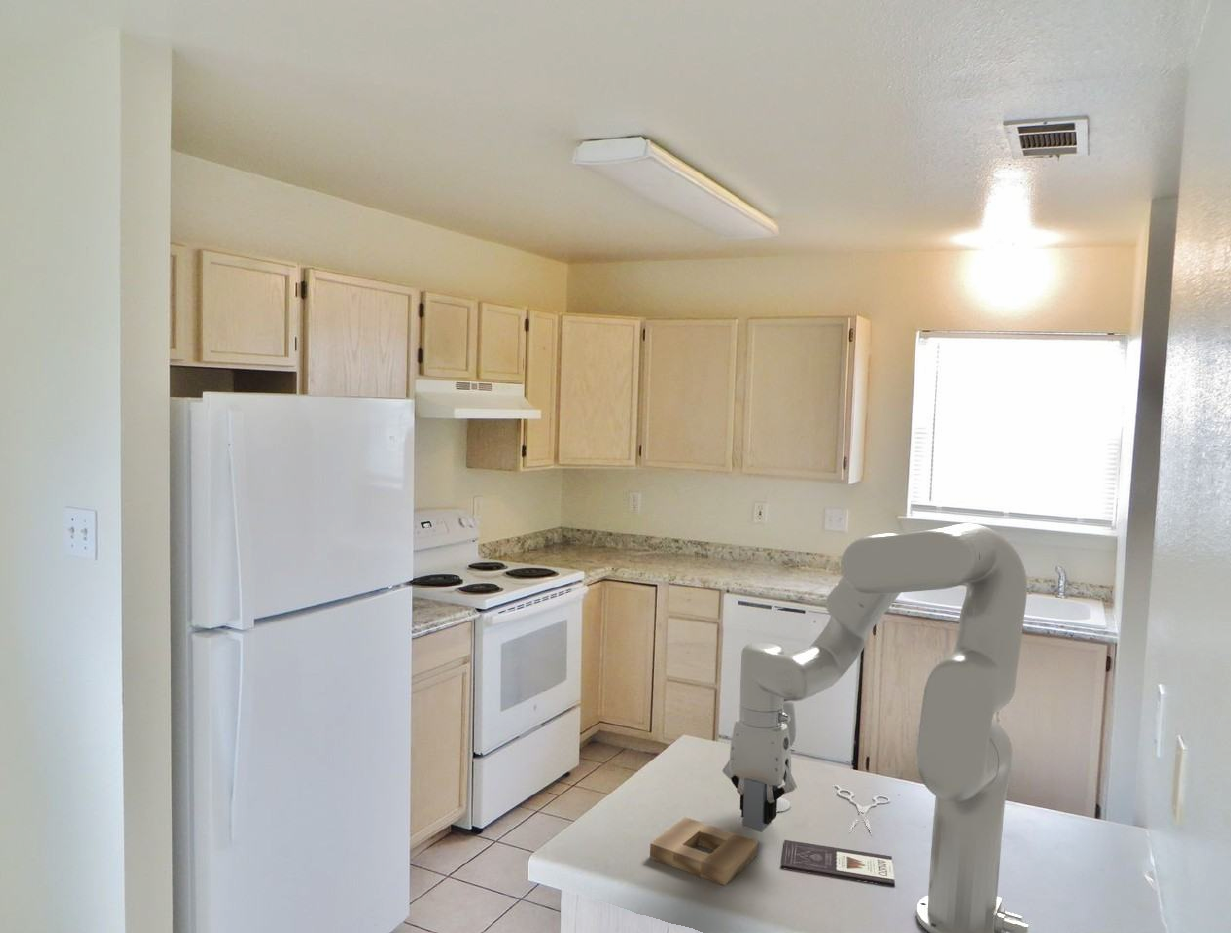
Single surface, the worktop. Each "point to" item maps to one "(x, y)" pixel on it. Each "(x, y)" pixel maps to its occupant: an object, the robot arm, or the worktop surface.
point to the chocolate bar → (838, 862)
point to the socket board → (715, 866)
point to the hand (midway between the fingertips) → (757, 817)
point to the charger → (754, 805)
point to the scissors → (860, 808)
